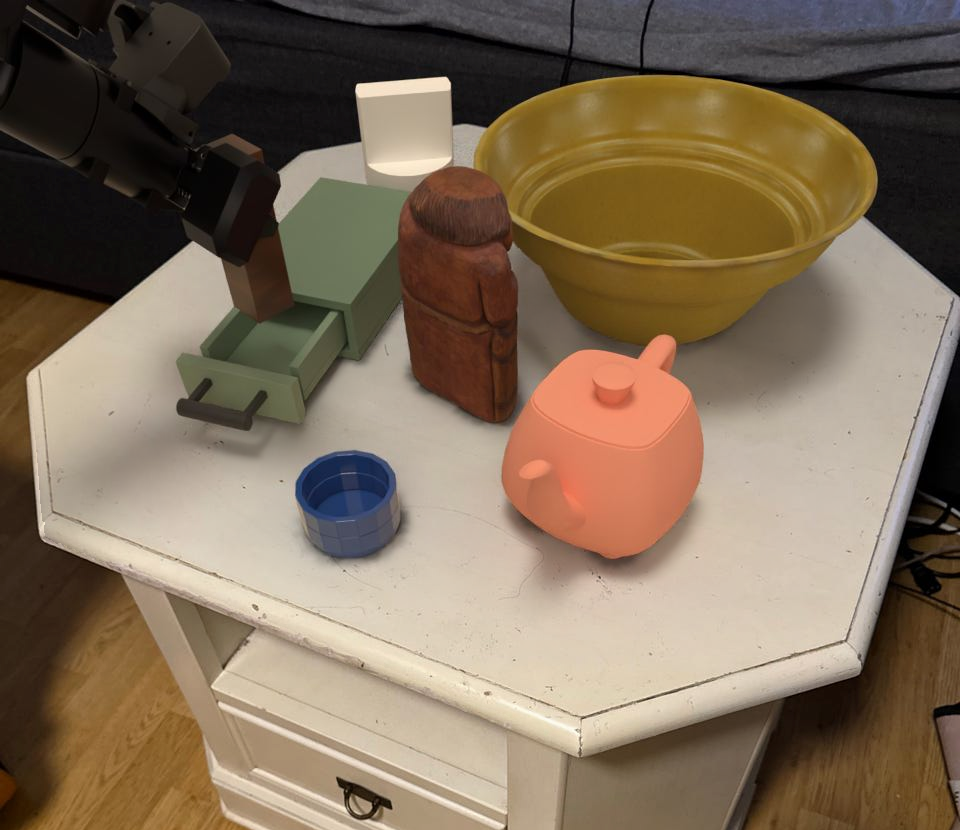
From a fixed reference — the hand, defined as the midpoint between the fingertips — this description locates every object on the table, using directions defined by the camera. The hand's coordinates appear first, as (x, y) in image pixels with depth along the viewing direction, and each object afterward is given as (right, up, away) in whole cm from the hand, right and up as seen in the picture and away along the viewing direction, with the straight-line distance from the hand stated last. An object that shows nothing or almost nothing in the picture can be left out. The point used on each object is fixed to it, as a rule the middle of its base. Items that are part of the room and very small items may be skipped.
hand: (260, 220), depth 64 cm
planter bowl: (+32, 0, +16) cm, 36 cm away
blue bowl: (+7, -23, 0) cm, 24 cm away
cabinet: (+3, +2, +18) cm, 18 cm away
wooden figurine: (+15, -10, +9) cm, 21 cm away
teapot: (+25, -22, +1) cm, 33 cm away
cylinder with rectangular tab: (+9, +13, +26) cm, 31 cm away
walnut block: (-1, -5, +5) cm, 7 cm away
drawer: (-1, -7, +10) cm, 13 cm away
